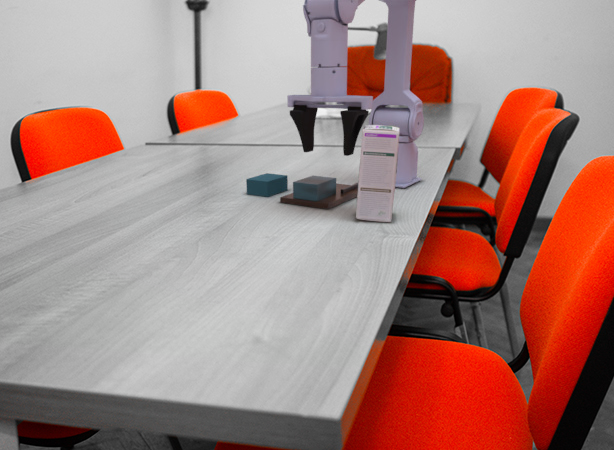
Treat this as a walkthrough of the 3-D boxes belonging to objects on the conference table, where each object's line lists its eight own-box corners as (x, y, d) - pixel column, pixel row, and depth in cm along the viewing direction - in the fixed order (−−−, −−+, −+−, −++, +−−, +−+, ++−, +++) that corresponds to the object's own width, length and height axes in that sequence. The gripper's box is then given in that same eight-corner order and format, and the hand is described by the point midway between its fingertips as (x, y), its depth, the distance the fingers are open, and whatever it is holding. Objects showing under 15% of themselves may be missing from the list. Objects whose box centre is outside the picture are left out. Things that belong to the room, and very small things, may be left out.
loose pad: (267, 187, 117) (266, 173, 116) (287, 190, 114) (287, 175, 113) (246, 194, 111) (246, 179, 110) (267, 197, 108) (267, 181, 108)
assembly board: (323, 186, 117) (323, 167, 116) (368, 192, 111) (368, 171, 110) (280, 202, 104) (279, 181, 103) (328, 209, 99) (328, 186, 97)
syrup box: (391, 223, 90) (402, 130, 85) (353, 219, 91) (362, 127, 86) (391, 213, 95) (401, 126, 91) (355, 210, 96) (364, 123, 92)
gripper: (276, 68, 91) (277, 153, 94) (359, 67, 83) (357, 160, 86) (300, 67, 96) (300, 147, 100) (379, 66, 88) (376, 153, 92)
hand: (328, 153), depth 94 cm, fingers open, 7 cm apart
